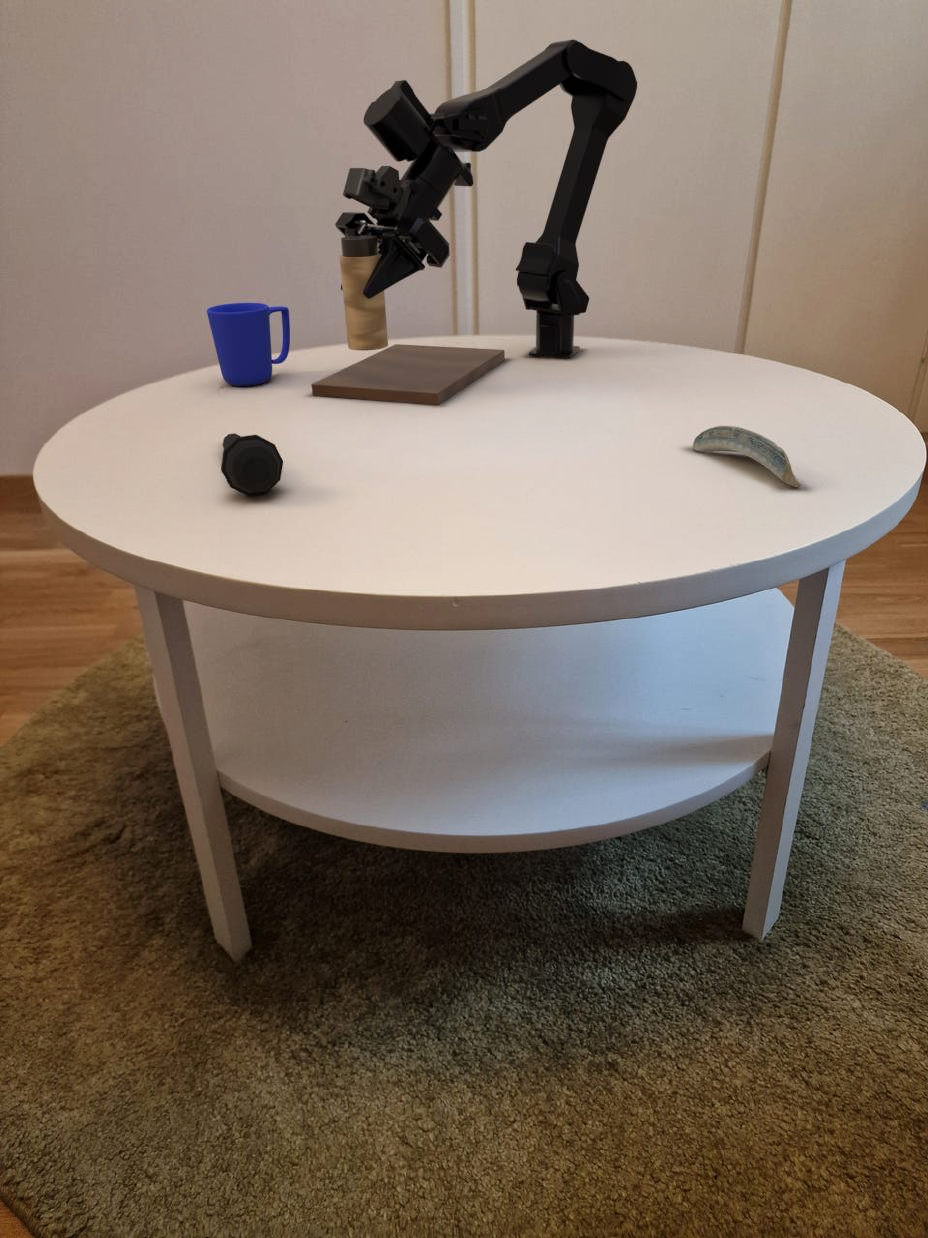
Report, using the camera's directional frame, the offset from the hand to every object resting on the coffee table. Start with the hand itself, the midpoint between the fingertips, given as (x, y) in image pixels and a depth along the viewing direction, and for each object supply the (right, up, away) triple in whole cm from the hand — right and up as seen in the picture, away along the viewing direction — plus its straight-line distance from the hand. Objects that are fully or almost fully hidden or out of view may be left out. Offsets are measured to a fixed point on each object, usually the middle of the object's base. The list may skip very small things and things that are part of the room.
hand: (354, 293), depth 107 cm
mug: (-15, -7, +14) cm, 22 cm away
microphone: (-8, -26, -20) cm, 34 cm away
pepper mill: (+1, -5, +4) cm, 7 cm away
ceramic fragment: (+41, -26, -23) cm, 54 cm away
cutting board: (+7, -7, +13) cm, 16 cm away
